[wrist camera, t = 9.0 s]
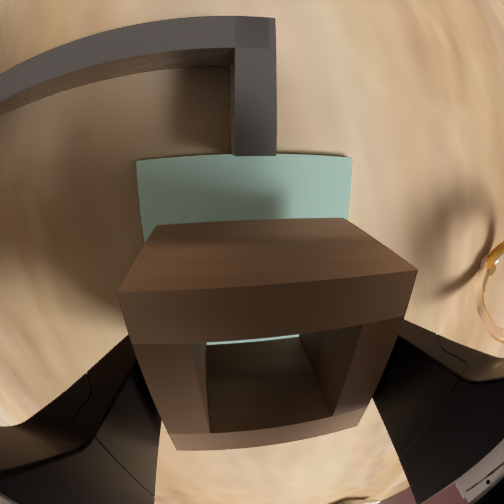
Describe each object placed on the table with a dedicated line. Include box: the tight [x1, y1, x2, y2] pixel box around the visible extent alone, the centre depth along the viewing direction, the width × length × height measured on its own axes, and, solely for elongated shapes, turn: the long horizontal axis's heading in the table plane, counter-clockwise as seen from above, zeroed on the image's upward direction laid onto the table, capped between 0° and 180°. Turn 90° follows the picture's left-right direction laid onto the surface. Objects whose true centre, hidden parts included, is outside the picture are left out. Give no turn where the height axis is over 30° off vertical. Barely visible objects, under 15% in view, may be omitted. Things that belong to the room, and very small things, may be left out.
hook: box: [0, 16, 277, 156], centre depth 6 cm, size 15×5×4 cm, turn 90°
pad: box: [136, 154, 352, 345], centre depth 11 cm, size 8×10×1 cm
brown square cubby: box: [117, 218, 418, 451], centre depth 8 cm, size 6×6×4 cm
